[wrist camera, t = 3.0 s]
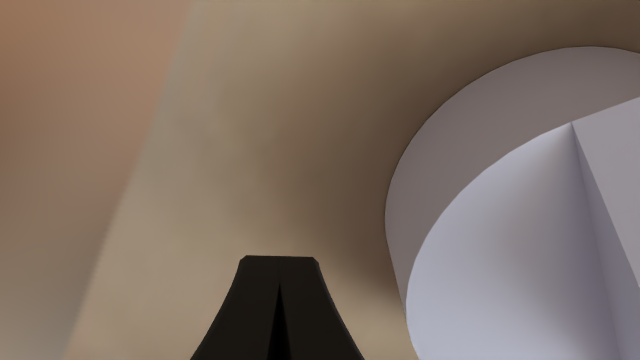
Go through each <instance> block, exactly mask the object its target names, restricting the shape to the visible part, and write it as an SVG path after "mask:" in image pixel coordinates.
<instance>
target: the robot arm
mask: <svg viewBox="0 0 640 360" xmlns="http://www.w3.org/2000/svg"><path fill="white" fill-rule="evenodd" d="M190 360H365V359H364V358H363V356H362V354H361V353H360V351H359V349H358V348H357V346H356V344H355V342H354V341H353V339H352V337H351V335H350V333H349V331H348V330H347V328H346V326H345V324H344V322H343V320H342V319H341V317H340V315H339V313H338V311H337V309H336V306H335V304H334V302H333V300H332V298H331V296H330V293H329V291H328V289H327V286H326V284H325V281H324V279H323V276H322V273H321V270H320V267H319V263H318V262H317V261H316V260H315V259H314V258H313V257H292V256H251V255H246V256H245V257H244V258H242V259H241V260H240V262H239V266H238V269H237V272H236V275H235V278H234V280H233V283H232V285H231V287H230V289H229V292H228V294H227V296H226V298H225V300H224V302H223V304H222V306H221V308H220V310H219V312H218V314H217V315H216V317H215V319H214V321H213V323H212V324H211V326H210V328H209V330H208V332H207V334H206V335H205V337H204V339H203V340H202V342H201V343H200V345H199V347H198V348H197V350H196V351H195V353H194V354H193V356H192V357H191V359H190Z"/></svg>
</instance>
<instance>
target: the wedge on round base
mask: <svg viewBox="0 0 640 360" xmlns="http://www.w3.org/2000/svg"><path fill="white" fill-rule="evenodd" d="M385 231H386V239H387V243H388V248H389V252H390V256H391V260H392V264H393V268H394V272H395V276H396V281H397V285H398V289H399V293H400V297H401V301H402V305H403V309H404V314H405V318H406V322H407V326H408V330H409V334H410V338H411V342H412V345H413V347H414V349H415V351H416V353H417V356H418V358H419V360H640V53H635V52H631V51H627V50H622V49H618V48H607V47H595V46H588V47H571V48H562V49H557V50H551V51H546V52H541V53H537V54H534V55H531V56H528V57H525V58H521V59H518V60H515V61H512V62H510V63H508V64H506V65H504V66H501V67H499V68H497V69H495V70H493V71H490V72H488V73H487V74H485V75H483V76H482V77H480V78H478V79H477V80H475V81H473V82H472V83H470V84H469V85H467V86H465V87H464V88H463V89H461V90H460V91H459V92H458V93H456V94H455V95H454V96H452V97H451V98H450V99H449V100H447V101H446V102H445V103H444V104H443V105H442V106H441V107H440V108H439V109H438V110H437V111H436V112H435V113H434V114H433V115H432V116H431V117H430V118H429V119H428V120H427V121H426V122H425V123H424V124H423V126H422V127H421V128H420V130H419V131H418V132H417V133H416V135H415V136H414V137H413V138H412V140H411V142H410V143H409V145H408V147H407V148H406V150H405V152H404V153H403V155H402V157H401V158H400V160H399V163H398V165H397V168H396V170H395V172H394V175H393V177H392V180H391V183H390V187H389V191H388V195H387V199H386V209H385Z"/></svg>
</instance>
